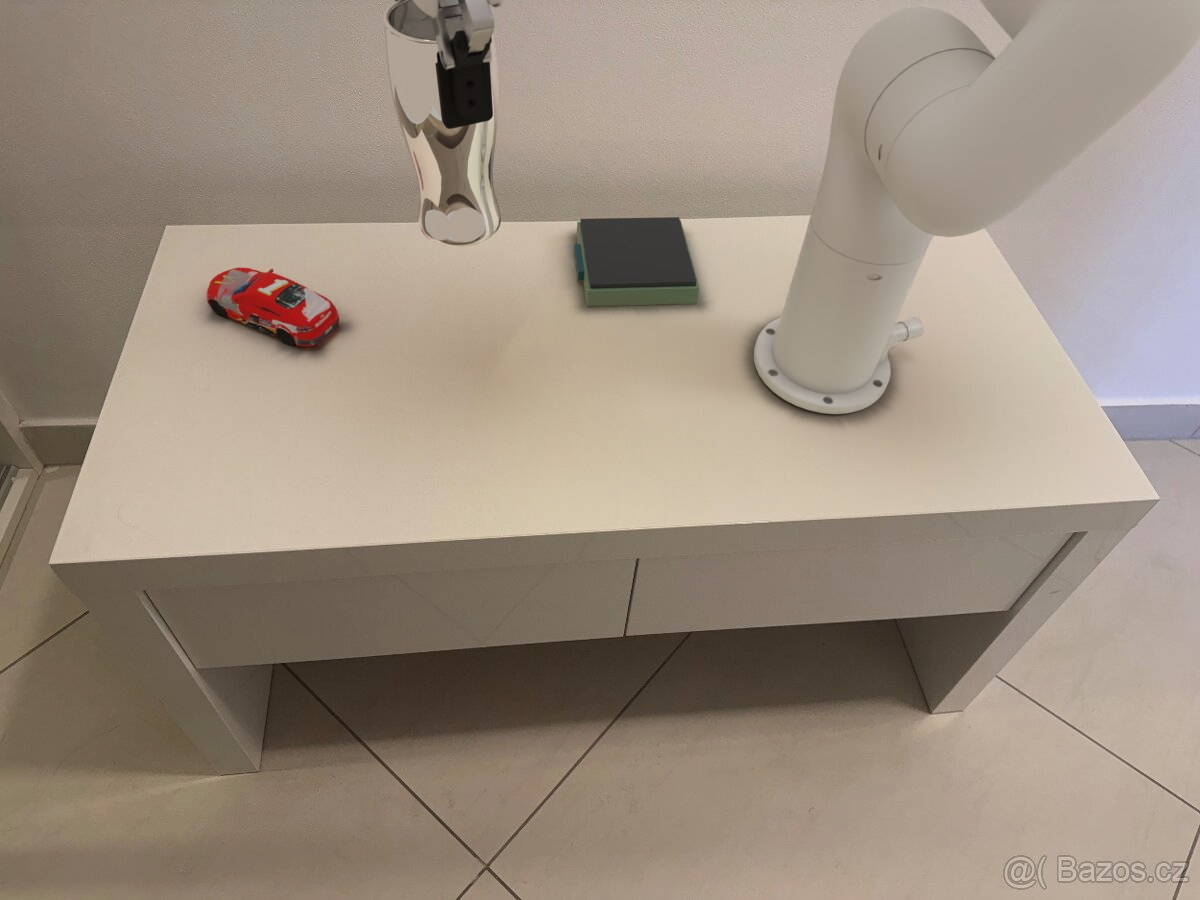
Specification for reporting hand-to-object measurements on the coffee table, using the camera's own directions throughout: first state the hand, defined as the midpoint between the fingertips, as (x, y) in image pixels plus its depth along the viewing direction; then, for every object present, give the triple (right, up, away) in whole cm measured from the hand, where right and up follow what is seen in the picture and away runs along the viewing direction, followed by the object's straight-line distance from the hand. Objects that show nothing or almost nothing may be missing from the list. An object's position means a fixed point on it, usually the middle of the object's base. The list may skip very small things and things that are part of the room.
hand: (446, 91), depth 56 cm
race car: (-21, -11, +25) cm, 34 cm away
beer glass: (0, -7, +8) cm, 10 cm away
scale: (+14, -5, +32) cm, 35 cm away
